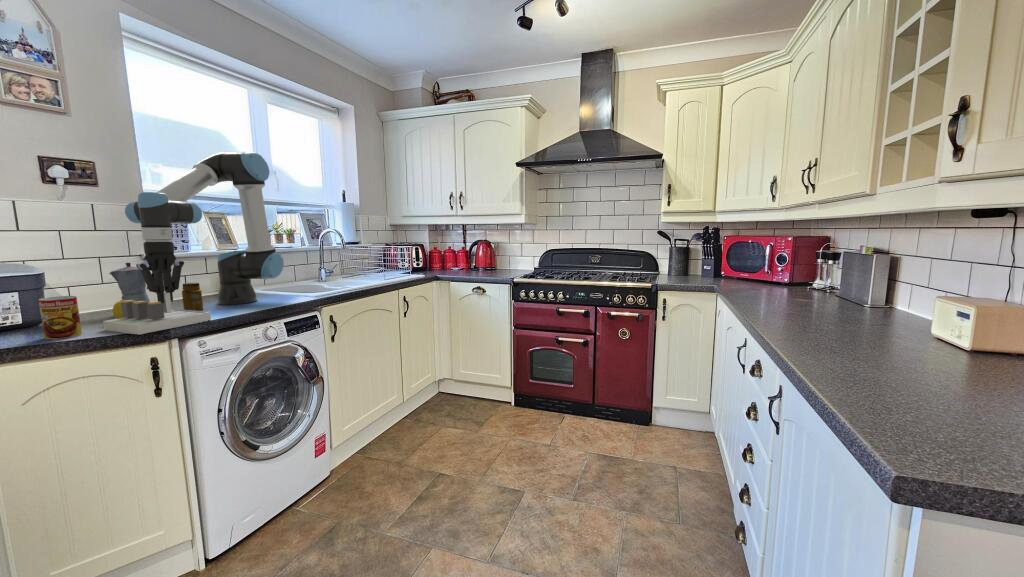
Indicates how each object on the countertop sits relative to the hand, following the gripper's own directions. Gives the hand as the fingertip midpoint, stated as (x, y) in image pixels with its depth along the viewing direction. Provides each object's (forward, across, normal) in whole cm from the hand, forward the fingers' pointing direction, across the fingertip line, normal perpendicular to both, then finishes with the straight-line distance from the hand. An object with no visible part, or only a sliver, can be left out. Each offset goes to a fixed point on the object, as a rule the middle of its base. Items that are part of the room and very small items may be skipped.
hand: (167, 312), depth 139 cm
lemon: (+5, 0, +24) cm, 25 cm away
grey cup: (+2, -4, +6) cm, 7 cm away
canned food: (+5, -19, +17) cm, 26 cm away
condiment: (+5, +18, +16) cm, 25 cm away
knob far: (+2, -4, +12) cm, 13 cm away
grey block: (+2, -3, 0) cm, 4 cm away
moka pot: (+5, +13, +41) cm, 43 cm away
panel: (+5, +1, +6) cm, 8 cm away
